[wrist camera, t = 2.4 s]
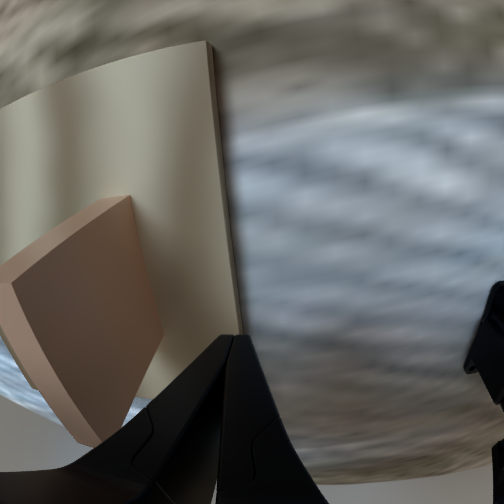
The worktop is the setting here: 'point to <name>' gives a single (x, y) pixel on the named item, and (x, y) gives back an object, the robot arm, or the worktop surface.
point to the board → (133, 185)
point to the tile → (83, 317)
